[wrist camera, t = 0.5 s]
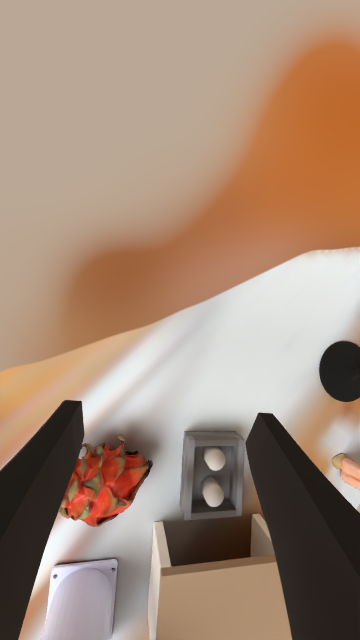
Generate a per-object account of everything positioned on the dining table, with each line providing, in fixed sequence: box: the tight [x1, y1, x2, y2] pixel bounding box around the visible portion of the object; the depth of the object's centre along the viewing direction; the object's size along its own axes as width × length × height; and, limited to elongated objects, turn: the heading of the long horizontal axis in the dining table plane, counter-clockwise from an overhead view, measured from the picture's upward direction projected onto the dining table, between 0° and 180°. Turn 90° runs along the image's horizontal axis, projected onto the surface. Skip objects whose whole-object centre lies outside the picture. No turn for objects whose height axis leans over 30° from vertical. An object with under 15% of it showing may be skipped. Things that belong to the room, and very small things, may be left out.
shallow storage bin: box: [148, 514, 292, 640], centre depth 31 cm, size 11×16×8 cm
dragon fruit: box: [59, 435, 153, 527], centre depth 30 cm, size 8×8×12 cm
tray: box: [180, 431, 244, 521], centre depth 35 cm, size 10×8×4 cm
